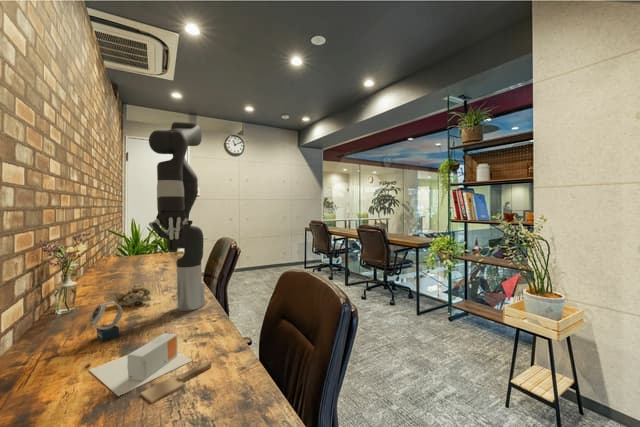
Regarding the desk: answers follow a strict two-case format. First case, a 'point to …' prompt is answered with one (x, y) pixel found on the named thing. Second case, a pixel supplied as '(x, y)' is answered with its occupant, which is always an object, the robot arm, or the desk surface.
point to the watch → (106, 331)
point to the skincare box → (151, 357)
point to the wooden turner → (172, 384)
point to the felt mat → (117, 373)
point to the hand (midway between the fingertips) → (172, 251)
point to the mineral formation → (132, 296)
